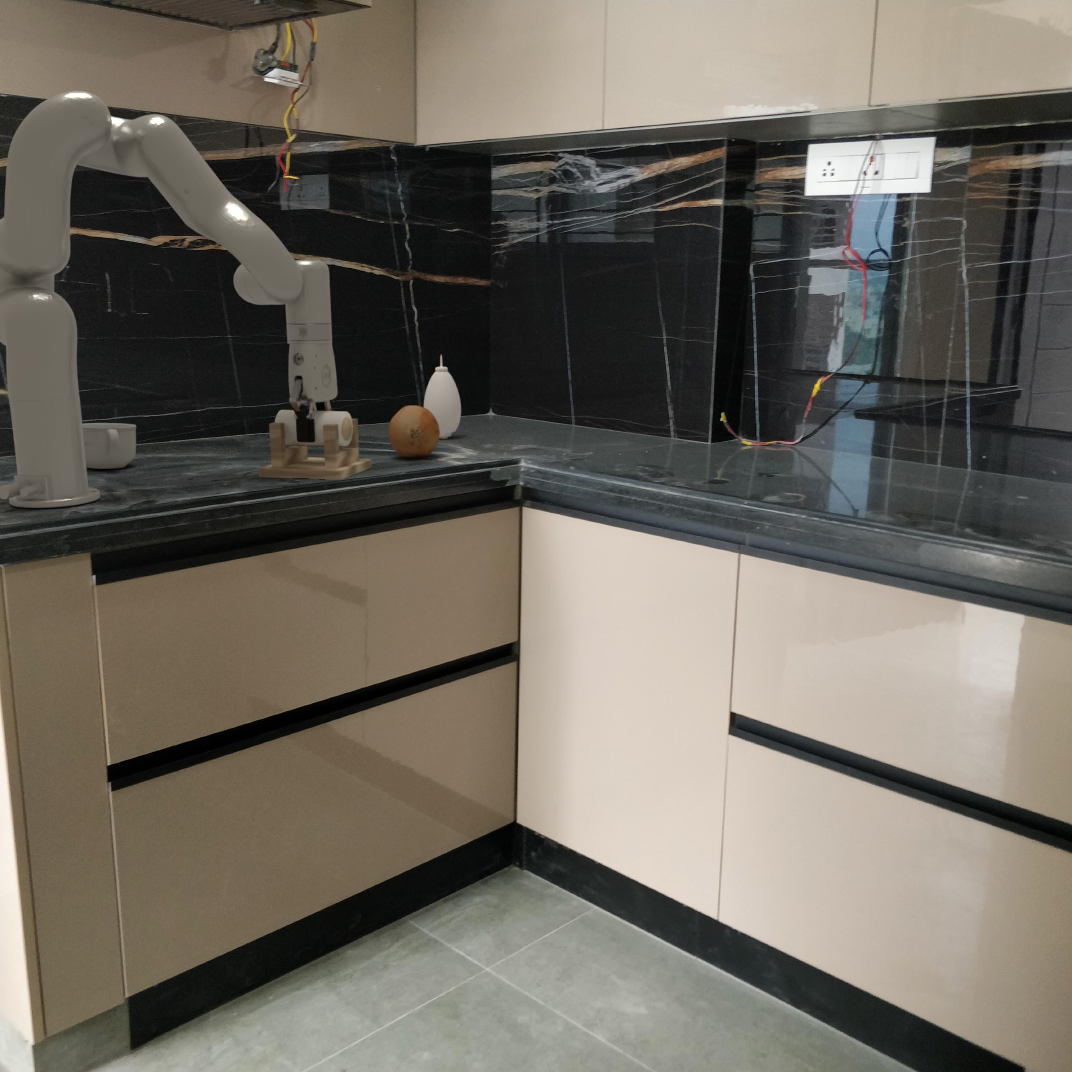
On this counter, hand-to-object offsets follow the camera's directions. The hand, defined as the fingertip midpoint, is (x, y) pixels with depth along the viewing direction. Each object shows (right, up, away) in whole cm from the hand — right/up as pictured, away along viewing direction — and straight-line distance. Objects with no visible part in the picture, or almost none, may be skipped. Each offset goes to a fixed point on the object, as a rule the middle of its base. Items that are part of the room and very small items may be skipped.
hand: (314, 438), depth 186 cm
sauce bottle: (+18, +4, +46) cm, 50 cm away
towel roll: (0, +2, 0) cm, 2 cm away
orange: (+15, -2, +18) cm, 24 cm away
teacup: (-39, -5, +7) cm, 40 cm away
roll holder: (0, -6, +1) cm, 6 cm away
